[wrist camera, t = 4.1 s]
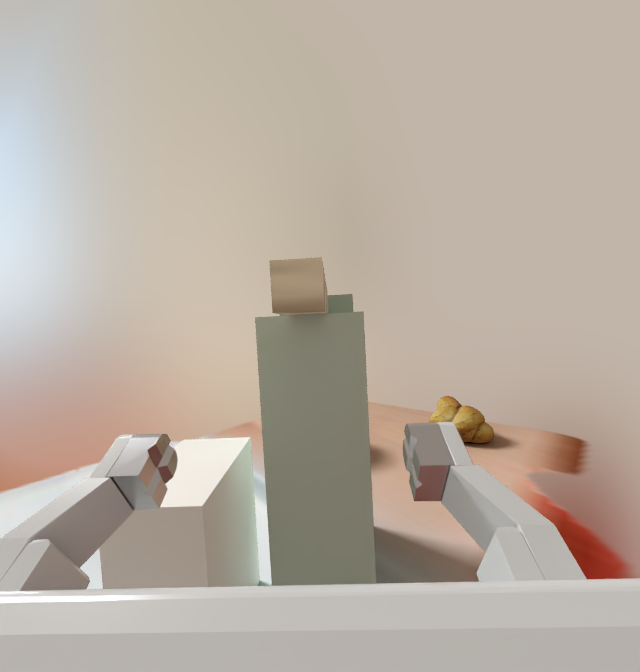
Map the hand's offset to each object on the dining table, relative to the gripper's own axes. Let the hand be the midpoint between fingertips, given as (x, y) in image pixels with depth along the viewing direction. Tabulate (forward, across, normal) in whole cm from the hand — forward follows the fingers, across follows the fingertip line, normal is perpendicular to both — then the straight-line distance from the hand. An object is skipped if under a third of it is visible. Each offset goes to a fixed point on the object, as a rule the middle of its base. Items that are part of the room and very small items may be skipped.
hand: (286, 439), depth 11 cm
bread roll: (+38, +28, -48) cm, 68 cm away
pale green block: (+8, 0, -31) cm, 32 cm away
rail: (+18, 0, -5) cm, 18 cm away
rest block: (+2, -11, -27) cm, 29 cm away
